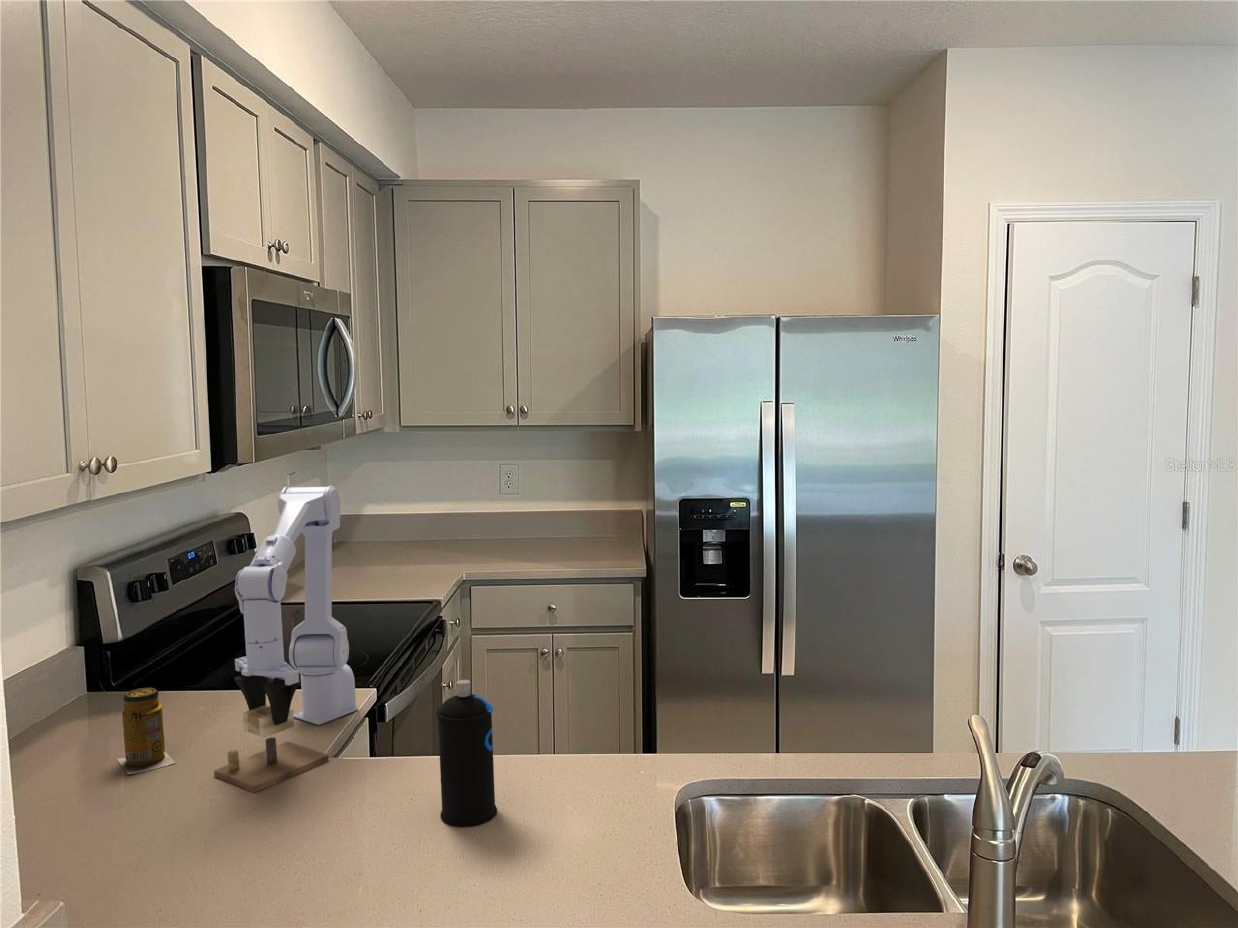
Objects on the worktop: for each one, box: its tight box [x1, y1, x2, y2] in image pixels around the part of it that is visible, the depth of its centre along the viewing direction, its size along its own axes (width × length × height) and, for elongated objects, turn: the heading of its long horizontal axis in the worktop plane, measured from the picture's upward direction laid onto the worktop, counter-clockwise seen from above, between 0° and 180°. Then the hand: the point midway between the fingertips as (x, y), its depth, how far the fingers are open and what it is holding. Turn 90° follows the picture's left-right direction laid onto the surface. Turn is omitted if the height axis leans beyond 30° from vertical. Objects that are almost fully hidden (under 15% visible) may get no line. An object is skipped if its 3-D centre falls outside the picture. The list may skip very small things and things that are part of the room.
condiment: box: [116, 687, 176, 775], centre depth 158 cm, size 7×8×12 cm
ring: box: [242, 703, 295, 738], centre depth 154 cm, size 6×6×3 cm
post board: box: [213, 736, 330, 794], centre depth 155 cm, size 14×11×5 cm
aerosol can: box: [435, 679, 498, 828], centre depth 137 cm, size 8×8×20 cm
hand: (269, 719), depth 154 cm, fingers closed on ring, 6 cm apart
